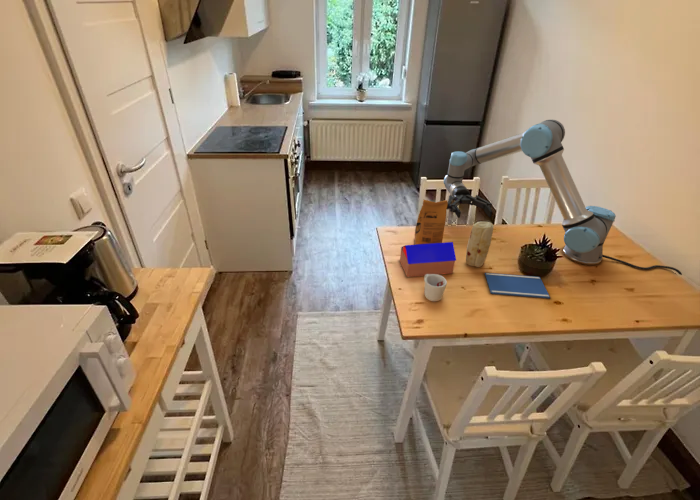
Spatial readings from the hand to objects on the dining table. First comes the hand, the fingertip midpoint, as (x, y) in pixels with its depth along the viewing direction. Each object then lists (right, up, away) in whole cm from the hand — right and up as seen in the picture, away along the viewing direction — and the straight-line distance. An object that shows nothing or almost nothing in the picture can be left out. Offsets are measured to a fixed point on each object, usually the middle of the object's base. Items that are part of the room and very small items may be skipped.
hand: (475, 214), depth 162 cm
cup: (-22, -32, -15) cm, 42 cm away
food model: (0, -21, +2) cm, 21 cm away
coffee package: (-17, -12, +15) cm, 26 cm away
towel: (+13, -29, -10) cm, 33 cm away
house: (-21, -22, 0) cm, 31 cm away
